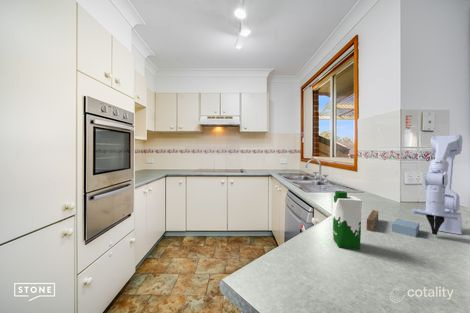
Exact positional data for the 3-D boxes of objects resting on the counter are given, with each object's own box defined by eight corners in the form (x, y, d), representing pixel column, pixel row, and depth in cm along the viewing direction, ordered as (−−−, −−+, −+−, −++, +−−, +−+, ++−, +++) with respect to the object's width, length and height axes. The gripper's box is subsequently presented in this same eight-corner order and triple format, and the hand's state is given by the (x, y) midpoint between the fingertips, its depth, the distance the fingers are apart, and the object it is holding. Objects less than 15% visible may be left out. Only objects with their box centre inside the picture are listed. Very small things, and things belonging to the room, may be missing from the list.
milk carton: (330, 238, 82) (331, 189, 82) (354, 240, 80) (355, 190, 80) (336, 248, 74) (337, 193, 73) (364, 251, 72) (365, 195, 72)
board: (378, 220, 106) (378, 211, 106) (373, 231, 91) (373, 220, 91) (372, 219, 107) (372, 210, 107) (366, 230, 92) (366, 219, 92)
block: (419, 232, 91) (419, 223, 91) (415, 238, 85) (415, 228, 85) (396, 227, 97) (396, 218, 97) (391, 232, 91) (392, 223, 91)
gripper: (412, 200, 86) (411, 232, 87) (463, 206, 77) (462, 241, 77) (412, 197, 92) (411, 227, 92) (459, 203, 82) (458, 236, 83)
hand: (434, 233), depth 85 cm, fingers closed
